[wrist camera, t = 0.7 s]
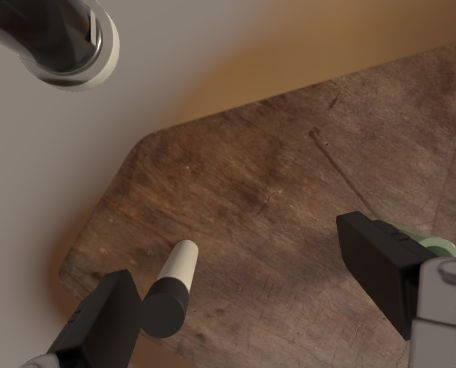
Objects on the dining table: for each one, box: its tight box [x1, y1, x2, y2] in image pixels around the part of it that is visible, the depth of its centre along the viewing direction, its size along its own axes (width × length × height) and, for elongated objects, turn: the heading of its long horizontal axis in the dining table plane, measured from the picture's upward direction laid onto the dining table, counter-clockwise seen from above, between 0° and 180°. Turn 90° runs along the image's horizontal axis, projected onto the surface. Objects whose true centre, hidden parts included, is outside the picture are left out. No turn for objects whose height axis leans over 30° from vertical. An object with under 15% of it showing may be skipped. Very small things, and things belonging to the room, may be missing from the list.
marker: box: [141, 240, 198, 338], centre depth 27 cm, size 3×3×15 cm
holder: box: [382, 221, 456, 257], centre depth 31 cm, size 6×6×8 cm
